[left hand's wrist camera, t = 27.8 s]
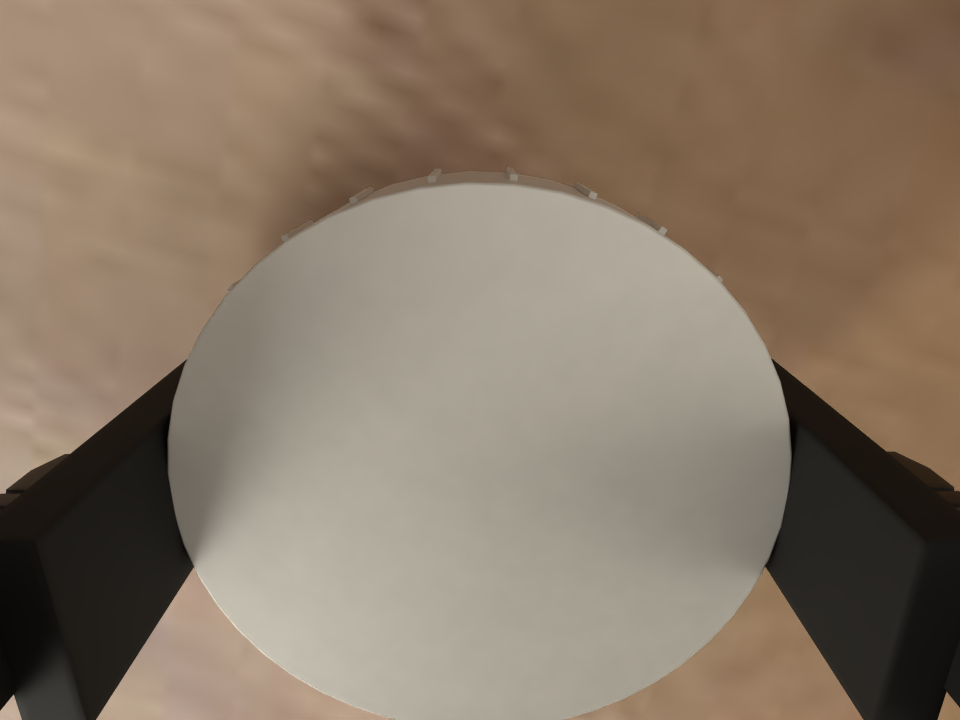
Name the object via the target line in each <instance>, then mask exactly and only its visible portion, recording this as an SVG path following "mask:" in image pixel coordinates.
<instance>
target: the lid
mask: <svg viewBox="0 0 960 720" xmlns="http://www.w3.org/2000/svg"><path fill="white" fill-rule="evenodd" d="M349 201H350V202H349V203H347V204H346V205H344V206H342V207H340V208H339V209H337V210H335V211H333V212H332V213H330V214H328V215H326V216H325V217H323V218H321V219H320V220H318V221H316V222H315V223H314V222H313V221H312V220H309V221H307V222H305V223H304V224H302V225H300V226H299V227H297V228H295V229H293V230H292V231H290V232H288V233H286V234H285V235H284V236H282V237H281V239H282V241H283V242H284V243H282V244H281V245H280V246H279V247H277V248H276V249H275V250H273V251H272V252H271V253H270V254H268V255H267V256H266V257H264V258H263V259H262V260H261V261H259V262H258V263H257V264H255V265H254V266H253V267H252V269H251V270H250V271H249V272H248V273H247V274H246V275H245V276H244V277H243V278H242V279H240V280H239V281H237V282H236V283H234V284H233V285H231V287H230V288H229V289H228V291H229V293H228V294H227V295H226V296H225V297H224V299H223V300H222V302H221V303H220V304H219V306H218V307H217V309H216V310H215V312H214V313H213V314H212V316H211V317H210V319H209V320H208V322H207V323H206V324H205V326H204V327H203V329H202V331H201V333H200V335H199V337H198V339H197V341H196V343H195V345H194V347H193V349H192V351H191V353H190V355H189V357H188V359H187V361H186V363H185V365H184V368H183V372H182V375H181V378H180V381H179V384H178V387H177V391H176V394H175V397H174V400H173V406H172V412H171V419H170V426H169V432H168V477H169V483H170V488H171V494H172V499H173V505H174V510H175V515H176V520H177V524H178V528H179V531H180V534H181V538H182V541H183V544H184V546H185V548H186V551H187V553H188V555H189V557H190V559H191V561H192V563H193V566H194V568H195V570H196V572H197V574H198V576H199V578H200V579H201V581H202V582H203V584H204V585H205V587H206V589H207V590H208V592H209V593H210V595H211V596H212V598H213V599H214V601H215V603H216V604H217V605H218V607H219V608H220V609H221V610H222V611H223V613H224V614H225V615H226V616H227V617H228V619H229V620H230V621H231V622H232V623H233V625H234V626H235V627H236V628H237V629H238V631H239V632H241V633H242V634H243V635H244V636H245V637H246V638H247V639H248V640H249V641H250V642H251V643H252V644H253V645H254V646H255V647H257V648H258V649H259V650H260V651H261V652H262V653H263V654H264V655H265V656H267V657H268V658H269V659H271V660H272V661H273V662H275V663H276V664H277V665H279V666H280V667H282V668H283V669H284V670H286V671H287V672H288V673H290V674H291V675H292V676H294V677H296V678H298V679H299V680H301V681H303V682H304V683H306V684H308V685H310V686H311V687H313V688H315V689H317V690H318V691H320V692H322V693H324V694H326V695H328V696H331V697H333V698H335V699H337V700H340V701H342V702H344V703H346V704H349V705H351V706H353V707H356V708H359V709H362V710H365V711H368V712H371V713H374V714H377V715H380V716H383V717H387V718H391V719H396V720H564V719H567V718H571V717H574V716H578V715H581V714H585V713H589V712H592V711H594V710H597V709H599V708H602V707H605V706H607V705H610V704H612V703H615V702H617V701H620V700H622V699H624V698H626V697H628V696H630V695H632V694H634V693H636V692H638V691H640V690H642V689H644V688H646V687H648V686H650V685H651V684H653V683H655V682H656V681H658V680H659V679H661V678H662V677H664V676H665V675H667V674H668V673H670V672H671V671H673V670H674V669H676V668H678V667H679V666H681V665H682V664H683V663H684V662H686V661H687V660H688V659H689V658H690V657H692V656H693V655H694V654H695V653H696V652H698V651H699V650H700V649H701V648H702V647H703V646H705V645H706V644H707V643H708V642H709V641H710V640H711V639H712V638H713V637H714V636H715V635H716V634H717V633H718V632H719V631H720V630H721V628H722V627H723V626H724V625H725V624H726V623H727V622H728V621H729V620H730V619H731V618H732V617H733V615H734V614H735V613H736V611H737V610H738V608H739V607H740V606H741V604H742V603H743V602H744V600H745V599H746V597H747V596H748V595H749V593H750V592H751V591H752V589H753V587H754V586H755V584H756V582H757V580H758V578H759V576H760V575H761V573H762V571H763V569H764V567H765V565H766V564H767V562H768V560H769V558H770V555H771V552H772V550H773V547H774V545H775V542H776V539H777V537H778V534H779V531H780V529H781V525H782V520H783V515H784V510H785V505H786V500H787V495H788V489H789V483H790V475H791V461H792V451H791V438H790V425H789V416H788V412H787V408H786V403H785V399H784V395H783V391H782V386H781V382H780V379H779V377H778V375H777V372H776V370H775V367H774V365H773V362H772V360H771V357H770V355H769V352H768V350H767V347H766V345H765V343H764V342H763V340H762V338H761V337H760V335H759V333H758V332H757V330H756V328H755V327H754V325H753V323H752V322H751V320H750V318H749V317H748V315H747V313H746V312H745V310H744V309H743V308H742V307H741V306H740V304H739V303H738V302H737V301H736V299H735V298H734V297H733V296H732V295H731V293H730V292H729V291H728V290H727V289H726V287H725V286H724V285H723V284H722V283H721V282H722V281H723V279H722V278H721V277H720V276H719V275H718V274H716V273H715V272H713V271H711V270H710V269H708V268H707V267H705V266H704V265H702V264H701V263H700V262H699V261H698V260H697V259H696V258H695V257H694V256H692V255H691V254H690V253H689V252H688V251H687V250H686V249H684V248H683V247H681V246H680V245H678V244H677V243H675V242H673V241H672V240H670V239H669V238H667V237H666V236H664V235H665V233H666V232H667V229H666V228H664V227H663V226H661V225H659V224H657V223H656V222H654V221H652V220H650V219H649V218H647V217H645V216H643V215H642V214H640V213H637V215H636V216H633V215H631V214H630V213H628V212H626V211H625V210H623V209H622V208H620V207H618V206H616V205H614V204H612V203H610V202H608V201H605V200H603V199H601V198H599V197H597V193H596V192H594V191H592V190H591V189H589V188H588V187H586V186H584V185H583V184H581V183H578V182H576V183H575V185H574V187H572V186H568V185H565V184H562V183H559V182H556V181H553V180H549V179H545V178H539V177H534V176H528V175H522V174H517V173H516V172H515V170H514V169H513V168H512V167H506V170H505V172H485V171H464V172H455V173H445V174H442V173H441V168H439V169H434V170H433V171H432V172H431V173H430V174H429V175H428V176H424V177H420V178H416V179H412V180H408V181H404V182H400V183H395V184H391V185H389V186H386V187H384V188H381V189H379V190H376V191H374V190H373V188H372V186H371V187H368V188H366V189H364V190H362V191H361V192H359V193H357V194H356V195H354V196H352V197H351V198H349Z"/></svg>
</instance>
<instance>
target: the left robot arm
mask: <svg viewBox="0 0 960 720" xmlns="http://www.w3.org/2000/svg"><path fill="white" fill-rule="evenodd" d="M771 360H772V362H773V365H774V367H775V370H776V372H777V375H778V377H779V379H780V382H781V386H782V391H783V395H784V399H785V403H786V408H787V412H788V416H789V425H790V438H791V451H792V461H791V475H790V483H789V489H788V495H787V500H786V505H785V510H784V515H783V520H782V525H781V529H780V531H779V534H778V537H777V539H776V542H775V545H774V547H773V550H772V552H771V555H770V558H769V560H768V562H767V564H766V565H765V567H766V568H767V570H768V571H769V573H770V574H771V576H772V578H773V579H774V581H775V582H776V584H777V585H778V587H779V588H780V590H781V592H782V593H783V595H784V596H785V598H786V599H787V601H788V602H789V604H790V606H791V607H792V609H793V610H794V612H795V613H796V615H797V617H798V618H799V620H800V621H801V623H802V624H803V626H804V627H805V629H806V631H807V632H808V634H809V635H810V637H811V638H812V640H813V641H814V643H815V645H816V646H817V648H818V649H819V651H820V652H821V654H822V655H823V657H824V659H825V660H826V662H827V663H828V665H829V666H830V668H831V670H832V671H833V673H834V674H835V676H836V677H837V679H838V680H839V682H840V684H841V685H842V687H843V688H844V690H845V691H846V693H847V694H848V696H849V698H850V699H851V701H852V702H853V704H854V705H855V707H856V708H857V710H858V712H859V713H860V715H861V716H862V718H863V719H864V720H937V719H938V716H939V713H940V710H941V707H942V704H943V701H944V697H945V694H946V691H947V692H948V694H949V695H950V696H951V697H952V699H953V700H954V701H955V702H956V703H957V705H958V706H959V707H960V492H959V491H954V487H953V486H952V485H950V484H949V483H948V482H947V481H945V480H944V479H943V478H941V477H940V476H939V475H937V474H936V473H935V472H934V471H932V470H931V469H930V468H928V467H926V466H924V465H922V464H920V463H917V462H915V461H913V460H911V459H909V458H907V457H905V456H903V455H901V454H899V453H896V452H886V451H885V450H884V449H882V448H881V447H880V446H879V445H878V444H876V443H875V442H874V441H873V440H871V439H870V438H869V437H868V436H866V435H865V434H864V433H863V432H861V431H860V430H859V429H858V428H857V427H855V426H854V425H853V424H852V423H850V422H849V421H848V420H847V419H845V418H844V417H843V416H842V415H841V414H839V413H838V412H837V411H836V410H834V409H833V408H832V407H831V406H829V405H828V404H827V403H826V402H825V401H823V400H822V399H821V398H820V397H818V396H817V395H816V394H815V393H813V392H812V391H811V390H810V389H809V388H807V387H806V386H805V385H804V384H802V383H801V382H800V381H799V380H797V379H796V378H795V377H794V376H793V375H791V374H790V373H789V372H788V371H786V370H785V369H784V368H783V367H781V366H780V365H779V364H778V363H777V362H775V361H774V360H773V359H772V358H771ZM186 361H187V360H185V361H184V362H183V363H182V364H181V365H179V366H178V367H177V368H176V369H174V370H173V371H172V372H171V373H169V374H168V375H167V376H166V377H165V378H163V379H162V380H161V381H160V382H158V383H157V384H156V385H155V386H153V387H152V388H151V389H150V390H149V391H147V392H146V393H145V394H144V395H142V396H141V397H140V398H139V399H137V400H136V401H135V402H134V403H133V404H131V405H130V406H129V407H128V408H126V409H125V410H124V411H123V412H121V413H120V414H119V415H118V416H116V417H115V418H114V419H113V420H112V421H110V422H109V423H108V424H107V425H105V426H104V427H103V428H102V429H100V430H99V431H98V432H97V433H96V434H94V435H93V436H92V437H91V438H89V439H88V440H87V441H86V442H84V443H83V444H82V445H81V446H80V447H78V448H77V449H76V450H75V451H73V452H72V453H71V454H64V455H62V456H60V457H58V458H56V459H54V460H52V461H50V462H48V463H46V464H44V465H41V466H39V467H37V468H35V469H33V470H31V471H30V472H28V473H27V474H26V475H25V476H23V477H22V478H21V479H19V480H18V481H17V482H16V483H14V484H13V485H12V486H10V487H9V488H8V489H7V490H6V494H0V710H1V709H2V708H3V707H4V705H5V704H6V703H7V702H8V700H9V699H10V698H11V697H12V696H13V694H14V696H15V699H16V702H17V705H18V708H19V712H20V715H21V718H22V720H96V719H97V717H98V716H99V714H100V712H101V711H102V709H103V708H104V706H105V705H106V703H107V702H108V700H109V698H110V697H111V695H112V694H113V692H114V691H115V689H116V688H117V686H118V684H119V683H120V681H121V680H122V678H123V677H124V675H125V674H126V672H127V670H128V669H129V667H130V666H131V664H132V663H133V661H134V659H135V658H136V656H137V655H138V653H139V652H140V650H141V649H142V647H143V645H144V644H145V642H146V641H147V639H148V638H149V636H150V635H151V633H152V631H153V630H154V628H155V627H156V625H157V624H158V622H159V621H160V619H161V617H162V616H163V614H164V613H165V611H166V610H167V608H168V606H169V605H170V603H171V602H172V600H173V599H174V597H175V596H176V594H177V592H178V591H179V589H180V588H181V586H182V585H183V583H184V582H185V580H186V578H187V577H188V575H189V574H190V572H191V571H192V569H193V568H194V566H193V563H192V561H191V559H190V557H189V555H188V553H187V551H186V548H185V546H184V544H183V541H182V538H181V534H180V531H179V528H178V524H177V520H176V515H175V510H174V505H173V499H172V494H171V488H170V483H169V477H168V432H169V426H170V419H171V412H172V406H173V400H174V397H175V394H176V391H177V387H178V384H179V381H180V378H181V375H182V372H183V368H184V365H185V363H186Z"/></svg>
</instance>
